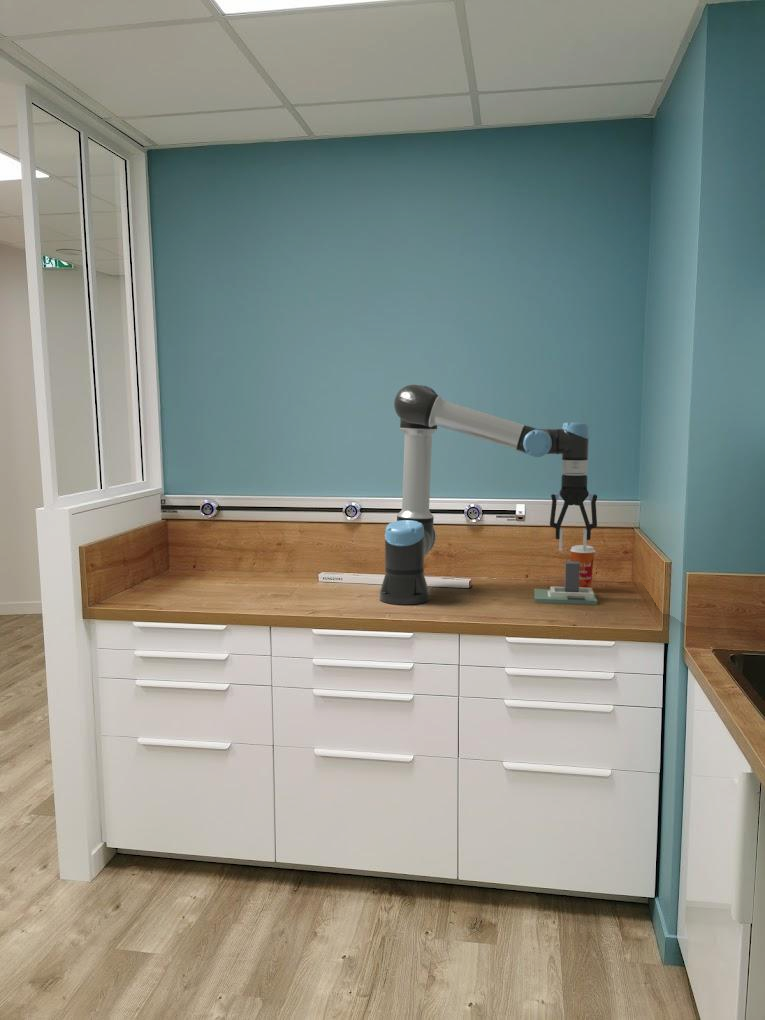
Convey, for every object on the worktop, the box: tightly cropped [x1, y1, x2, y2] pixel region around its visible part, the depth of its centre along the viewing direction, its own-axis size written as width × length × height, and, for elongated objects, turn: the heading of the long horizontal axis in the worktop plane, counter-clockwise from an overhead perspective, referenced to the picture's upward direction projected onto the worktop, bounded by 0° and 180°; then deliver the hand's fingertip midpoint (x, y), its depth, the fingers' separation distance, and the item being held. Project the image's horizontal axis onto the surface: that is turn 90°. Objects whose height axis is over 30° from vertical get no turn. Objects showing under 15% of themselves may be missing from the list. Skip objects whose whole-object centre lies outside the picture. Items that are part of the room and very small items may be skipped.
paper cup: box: [569, 544, 597, 588], centre depth 259 cm, size 8×8×14 cm
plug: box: [564, 560, 580, 592], centre depth 248 cm, size 4×5×10 cm
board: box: [533, 586, 598, 606], centre depth 248 cm, size 18×14×3 cm
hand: (572, 550), depth 246 cm, fingers open, 6 cm apart
